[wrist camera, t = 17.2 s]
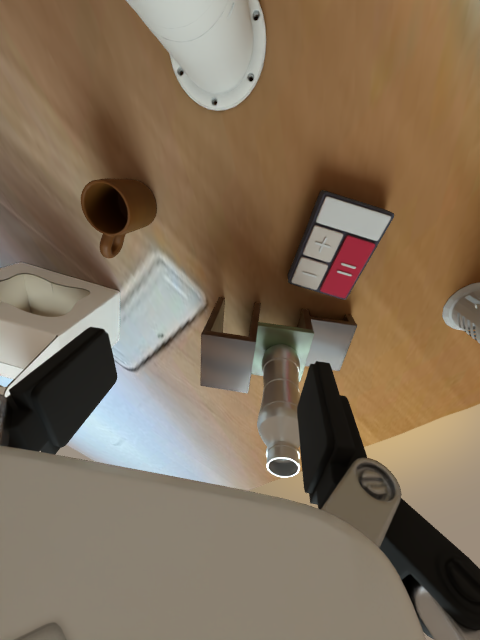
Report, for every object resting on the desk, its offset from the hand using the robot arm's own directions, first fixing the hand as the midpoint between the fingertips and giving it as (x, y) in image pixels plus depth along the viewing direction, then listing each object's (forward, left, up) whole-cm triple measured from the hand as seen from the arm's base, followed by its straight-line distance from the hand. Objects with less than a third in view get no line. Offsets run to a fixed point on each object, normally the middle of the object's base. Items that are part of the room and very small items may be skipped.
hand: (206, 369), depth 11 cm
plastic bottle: (+19, +7, -28) cm, 34 cm away
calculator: (+1, +13, -36) cm, 39 cm away
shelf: (+19, +7, -36) cm, 42 cm away
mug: (0, -22, -36) cm, 43 cm away
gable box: (+20, -39, -36) cm, 57 cm away
